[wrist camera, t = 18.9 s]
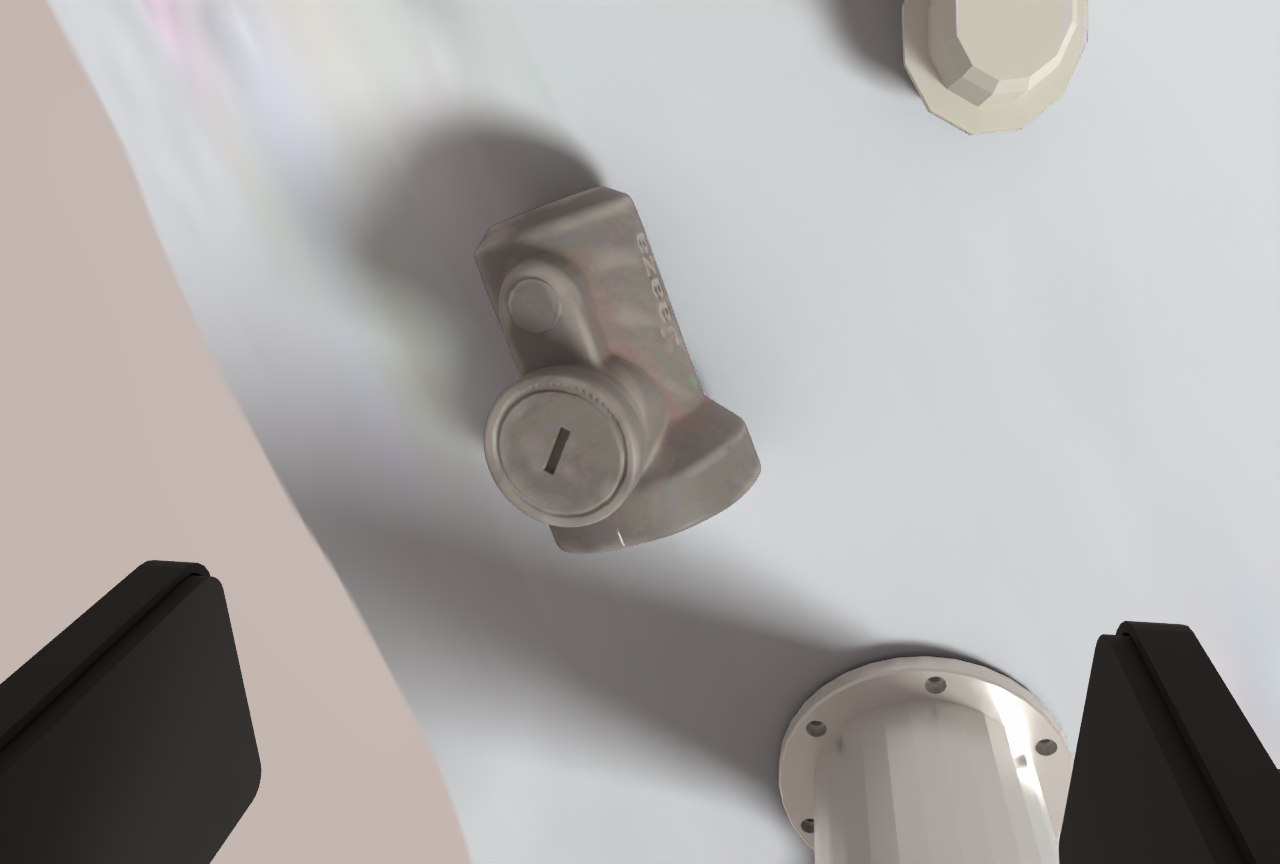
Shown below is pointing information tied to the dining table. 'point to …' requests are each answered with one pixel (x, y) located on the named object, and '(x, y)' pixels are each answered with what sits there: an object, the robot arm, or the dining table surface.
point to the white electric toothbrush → (992, 58)
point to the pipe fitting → (601, 383)
